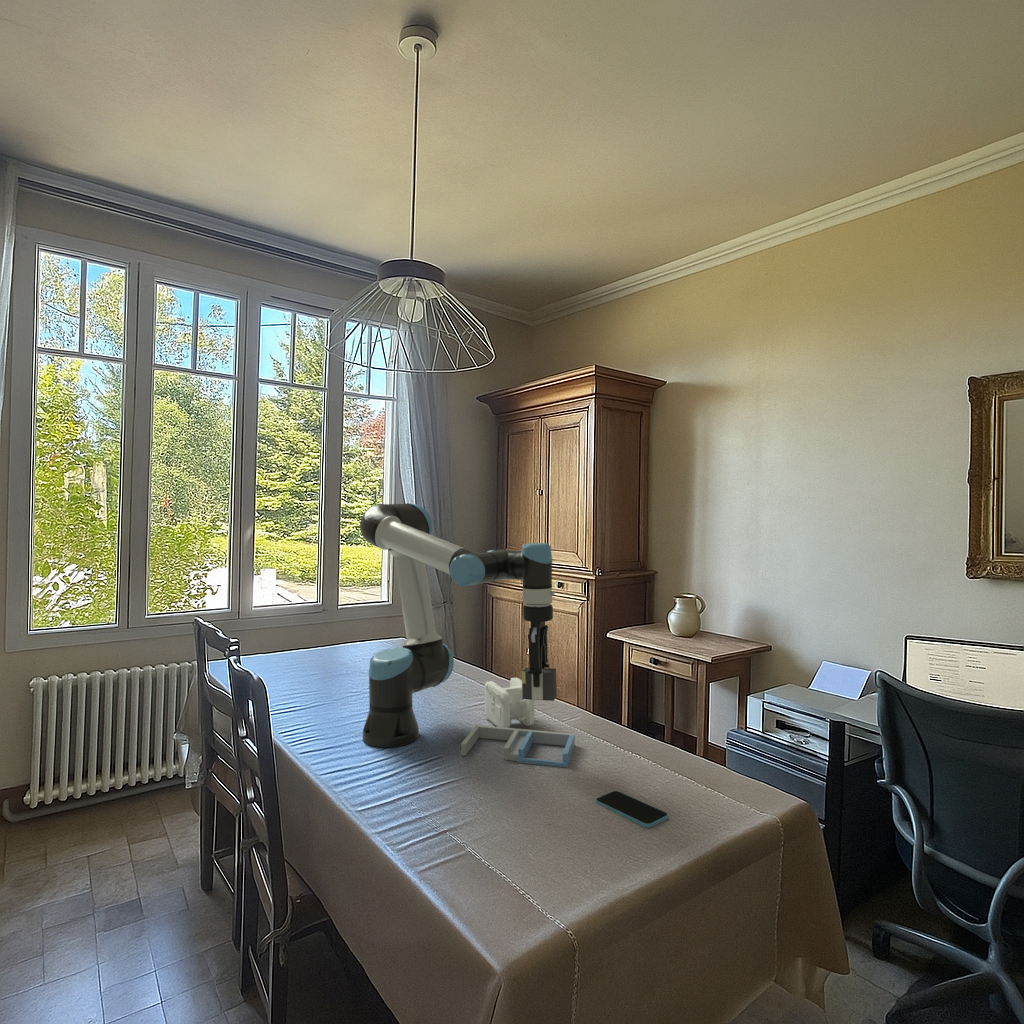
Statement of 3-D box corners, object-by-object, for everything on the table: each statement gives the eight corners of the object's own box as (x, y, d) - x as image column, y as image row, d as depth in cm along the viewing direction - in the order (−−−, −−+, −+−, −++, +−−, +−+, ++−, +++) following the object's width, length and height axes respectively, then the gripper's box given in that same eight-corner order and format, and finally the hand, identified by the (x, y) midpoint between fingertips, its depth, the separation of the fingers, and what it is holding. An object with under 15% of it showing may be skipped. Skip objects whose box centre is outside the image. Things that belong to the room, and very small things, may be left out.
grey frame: (460, 756, 165) (460, 744, 164) (475, 735, 179) (476, 724, 179) (566, 767, 158) (567, 755, 158) (574, 744, 173) (574, 733, 172)
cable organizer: (536, 729, 184) (536, 689, 183) (502, 735, 179) (502, 693, 179) (514, 713, 197) (515, 675, 197) (482, 718, 193) (482, 679, 193)
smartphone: (615, 789, 146) (670, 814, 134) (615, 794, 146) (670, 819, 134) (593, 799, 141) (647, 825, 130) (593, 804, 141) (647, 830, 130)
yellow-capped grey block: (522, 699, 163) (521, 671, 163) (525, 694, 167) (525, 667, 167) (553, 700, 161) (553, 672, 161) (556, 696, 165) (556, 668, 165)
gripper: (545, 610, 154) (547, 707, 155) (558, 599, 171) (559, 687, 171) (515, 609, 156) (517, 705, 156) (530, 599, 173) (532, 686, 173)
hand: (539, 696), depth 164 cm, fingers closed on yellow-capped grey block, 4 cm apart
